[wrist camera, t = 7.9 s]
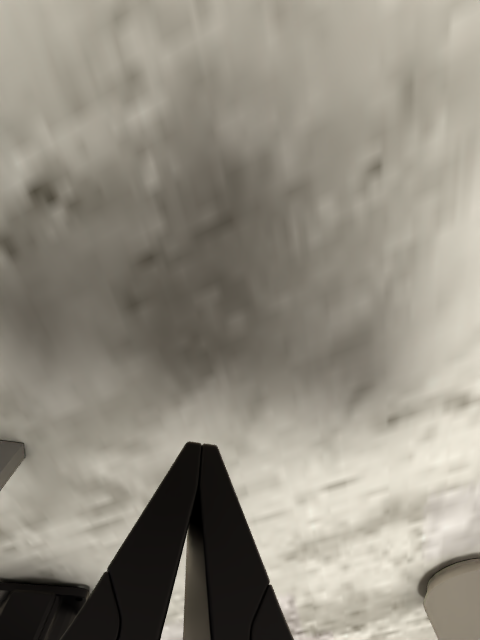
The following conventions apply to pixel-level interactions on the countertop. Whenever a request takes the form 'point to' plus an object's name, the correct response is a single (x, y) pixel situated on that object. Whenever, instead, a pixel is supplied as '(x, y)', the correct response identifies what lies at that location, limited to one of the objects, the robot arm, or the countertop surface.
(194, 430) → the countertop surface
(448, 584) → the can
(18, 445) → the box
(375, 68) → the countertop surface
